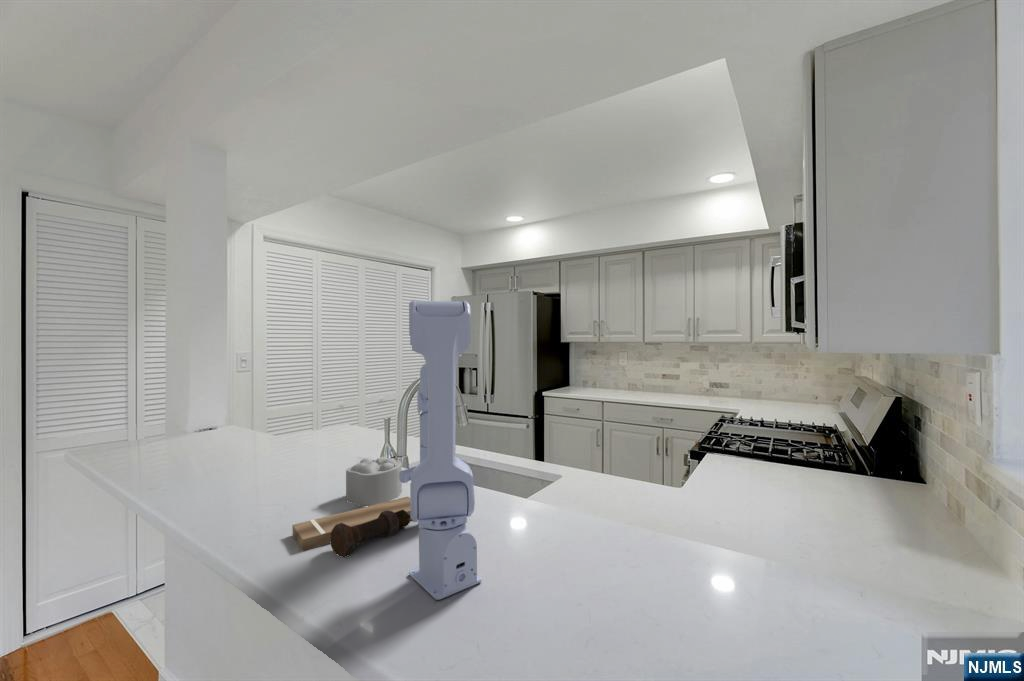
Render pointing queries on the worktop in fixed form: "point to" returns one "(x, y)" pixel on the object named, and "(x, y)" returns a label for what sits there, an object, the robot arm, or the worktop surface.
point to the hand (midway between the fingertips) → (434, 509)
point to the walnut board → (321, 528)
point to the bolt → (366, 531)
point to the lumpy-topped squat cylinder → (373, 481)
